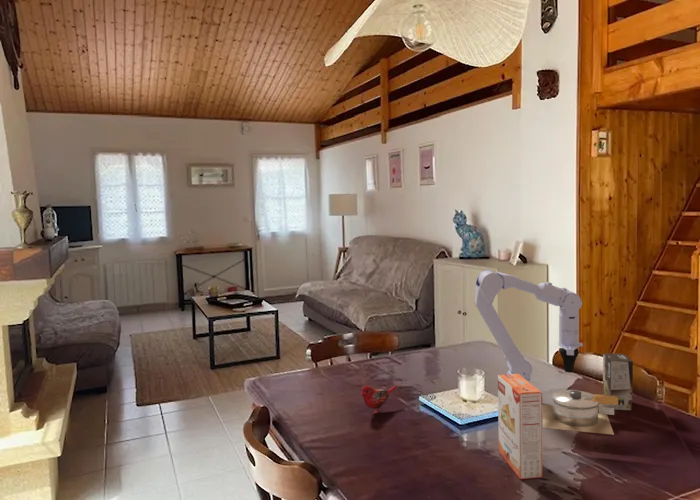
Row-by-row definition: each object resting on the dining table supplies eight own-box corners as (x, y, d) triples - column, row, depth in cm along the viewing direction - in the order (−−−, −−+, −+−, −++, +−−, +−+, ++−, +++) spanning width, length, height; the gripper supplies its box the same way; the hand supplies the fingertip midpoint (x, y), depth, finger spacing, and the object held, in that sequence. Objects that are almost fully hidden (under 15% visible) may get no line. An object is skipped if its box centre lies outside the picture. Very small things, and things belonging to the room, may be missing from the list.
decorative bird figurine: (357, 418, 164) (357, 386, 164) (394, 402, 177) (393, 372, 176) (365, 421, 162) (364, 388, 162) (401, 404, 175) (400, 374, 174)
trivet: (543, 431, 152) (543, 427, 152) (541, 408, 169) (541, 404, 169) (614, 438, 146) (614, 434, 146) (605, 413, 163) (605, 410, 163)
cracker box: (496, 453, 140) (496, 373, 138) (519, 451, 140) (519, 372, 138) (518, 480, 126) (518, 392, 124) (543, 478, 126) (543, 391, 125)
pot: (554, 424, 154) (554, 407, 153) (552, 409, 165) (552, 393, 165) (616, 430, 149) (616, 412, 148) (610, 414, 160) (610, 397, 160)
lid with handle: (554, 406, 153) (554, 398, 152) (550, 391, 165) (550, 383, 165) (621, 411, 148) (621, 402, 148) (613, 395, 160) (613, 387, 160)
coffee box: (632, 414, 162) (633, 361, 161) (609, 413, 164) (610, 360, 162) (624, 403, 171) (624, 353, 170) (602, 402, 173) (602, 352, 171)
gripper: (584, 335, 162) (584, 379, 163) (580, 324, 176) (580, 365, 177) (559, 334, 164) (559, 378, 165) (557, 323, 178) (557, 364, 179)
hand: (568, 371), depth 171 cm, fingers closed
